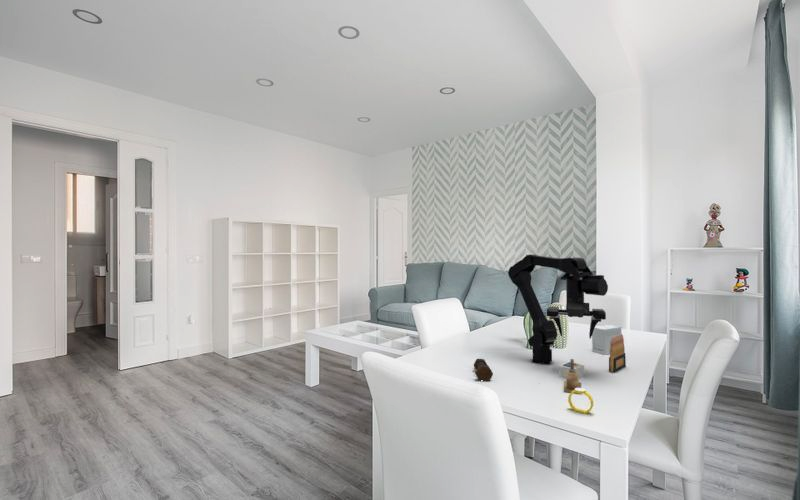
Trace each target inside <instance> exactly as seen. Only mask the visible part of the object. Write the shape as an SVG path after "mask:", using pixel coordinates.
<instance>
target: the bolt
mask: <svg viewBox="0 0 800 500" xmlns="http://www.w3.org/2000/svg"><path fill="white" fill-rule="evenodd" d="M473 368H474V369H475V372H474V374H475V376H476V377H477V379H478V380H480V381H479V382H482V381H481V380H485V381H484V382H490V381H491V379H492V377H493V375H494V373H493V371H492V369H491V368H490V366H489V365H488V363H487V362H486V360H485V359H484V358H476V360H474V363H473Z"/></svg>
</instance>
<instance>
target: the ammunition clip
mask: <svg viewBox="0 0 800 500" xmlns="http://www.w3.org/2000/svg"><path fill="white" fill-rule="evenodd" d="M626 362H627V361H626V352H625V340H624V335H623V334H622V333H621V335H619V336H616V337H614V338H612V339H611V346H610V354H609V357H608V372H609V373H612V374H615V373H617V372H619V371H621V370H623V369H625V368H626V366H627V365H626V364H627V363H626Z"/></svg>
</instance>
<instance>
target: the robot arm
mask: <svg viewBox="0 0 800 500" xmlns="http://www.w3.org/2000/svg"><path fill="white" fill-rule="evenodd" d="M536 266H537V267H543V268H544V267H545V268H551V269H556V270H558V271H560V272H562V273H564V274H563V275H562V276H561V277H560V280H562V281H565V284H566V285H565V291H566V294H565V296H566V298H565V299H566V301H565V302H566V304H565V309H560V307H559V306H548V307H547V309H546V316H545V314H544V311H543V309H542V306H541V304H540V302H539V300H538V298H537V294H536V293H535V290H534V288H533V286H532V274H531V273H532V272H533V271H535V268H536ZM507 274H508V277H509V279H510V281H511V282H512V284H514V285H515V286H516V287H517V288H518V290H519V292H520V294H521V297H522V299H523V301H524V304H525V307H526V309H527V311H528V313H529V317H530V318H531V320H532V328H531V330H532V336H530V337H529V339H527V341H528V345H529V346H530V347H532V359H531V363H537V364H545V365H547V364H548V365H551V362H552V361H553V349H552V348H551V346H553V345H554V344H555V341H557V338H558V332H559V335H560V337H563V329H562V323H561V316H562V315H563V316H564V315H565V316H567V317H570V318H575V317H576V318H578V319H579V318H584V317H590V326H589V332H588V333H589V335H588V336H589V337H588V338H589V339H591V340H592V334H593V331H594V328H595V327H597V324H598V323H601V322H602V320H607V317H606V315H607V313H606V311H605V309H603V308H592V310H590V302H585V295H593V296H603V297H604V296H606V294H607V293H608V290H609V285H608V282H607V280H606V279H605V276H604V275H603V274H600V275H599V274H598V275H597V274H596V275H594V273H593V272H592V270H590V268H589V266H588V265H587V262H586V260H585V259H584V258H583V257H565V258H564V257H563V258H561V257H560V258H559V257H551V256H544V255H539V254H538V255H537V254H527V255H525V256H524V257H523V258H522V259H520V260H519V261H517V262H515V263H514V264H513V265H511V266H510V267H509V269H508V272H507ZM547 317H550V319H551V320H548V318H547ZM555 324H556V325H555ZM556 326H557V327H556ZM557 328H558V329H557ZM557 331H558V332H557Z"/></svg>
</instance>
